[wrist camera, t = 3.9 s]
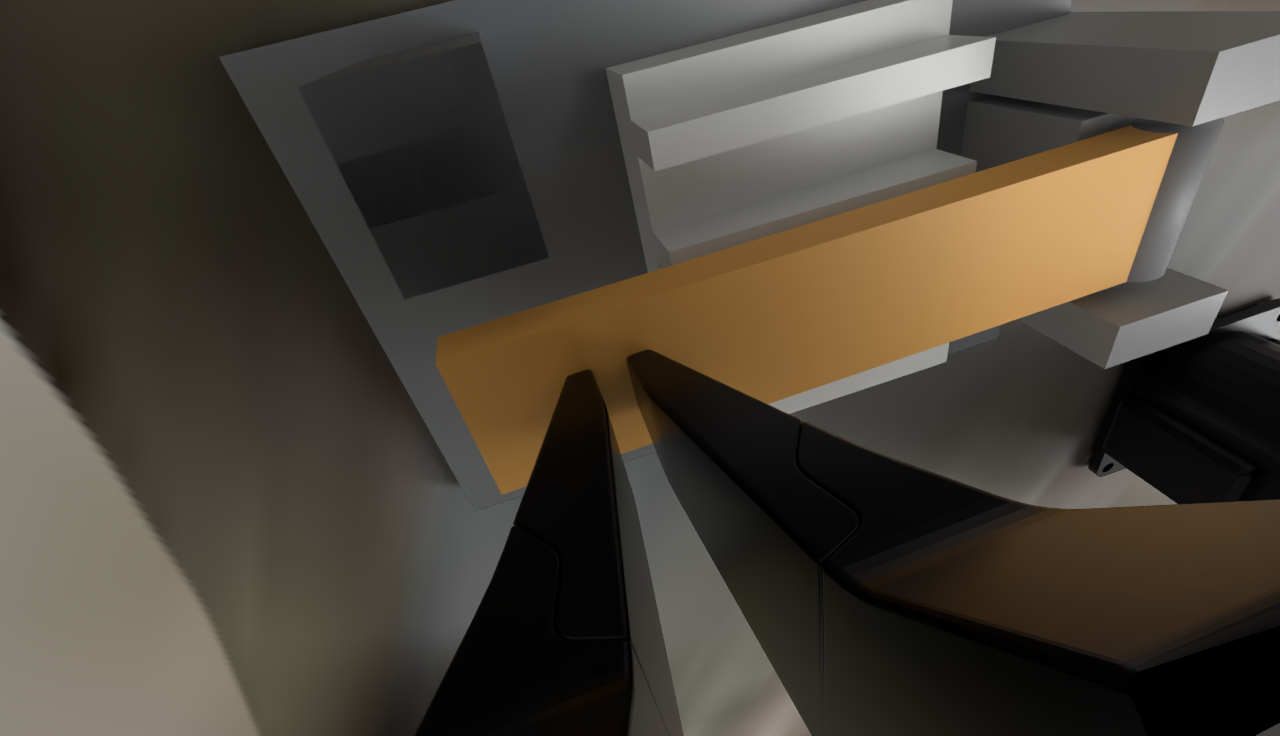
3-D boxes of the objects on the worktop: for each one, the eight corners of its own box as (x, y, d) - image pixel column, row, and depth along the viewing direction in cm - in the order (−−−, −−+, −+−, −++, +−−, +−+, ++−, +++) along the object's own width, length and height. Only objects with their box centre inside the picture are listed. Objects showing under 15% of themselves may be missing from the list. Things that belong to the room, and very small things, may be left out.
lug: (478, 30, 10) (480, 42, 6) (522, 171, 12) (549, 257, 8) (370, 57, 10) (297, 88, 6) (429, 197, 11) (404, 299, 7)
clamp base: (1067, -147, 11) (1489, -260, 6) (980, 321, 17) (1161, 431, 13) (240, 53, 9) (23, 89, 5) (474, 485, 16) (474, 678, 11)
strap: (1168, 108, 10) (1244, 118, 9) (1122, 249, 12) (1182, 270, 11) (437, 331, 9) (435, 370, 8) (498, 456, 10) (502, 502, 9)
